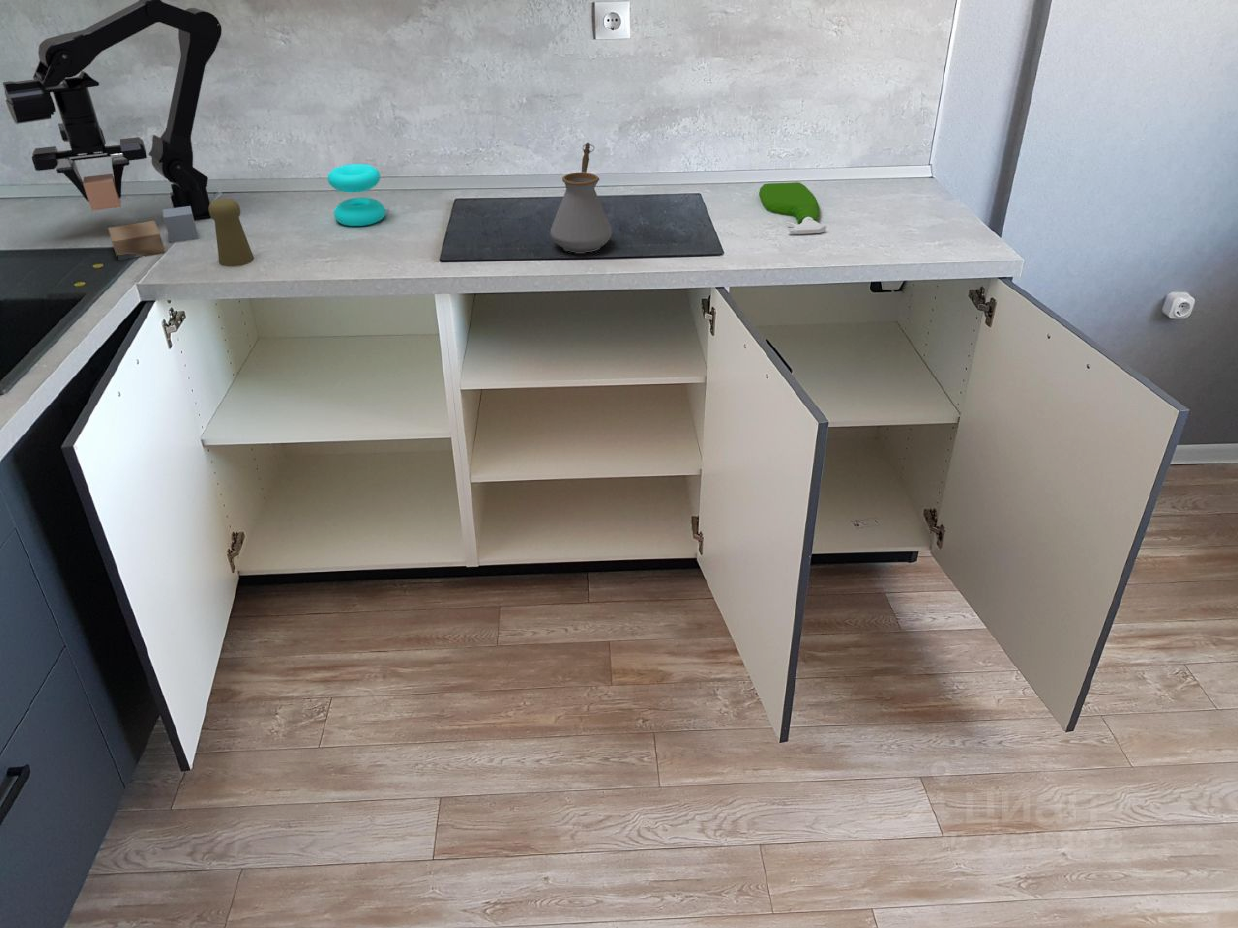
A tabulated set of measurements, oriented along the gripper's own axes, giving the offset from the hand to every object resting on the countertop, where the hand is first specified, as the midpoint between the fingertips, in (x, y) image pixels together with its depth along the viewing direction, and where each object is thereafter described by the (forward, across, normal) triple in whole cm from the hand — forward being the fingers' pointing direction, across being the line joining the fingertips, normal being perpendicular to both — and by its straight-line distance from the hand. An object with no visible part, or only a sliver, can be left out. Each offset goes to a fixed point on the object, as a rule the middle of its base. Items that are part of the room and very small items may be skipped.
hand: (104, 199), depth 180 cm
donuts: (+7, -45, +13) cm, 47 cm away
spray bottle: (+7, -126, +47) cm, 134 cm away
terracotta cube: (+1, 0, 0) cm, 1 cm away
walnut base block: (+7, -4, +12) cm, 14 cm away
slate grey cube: (+7, -12, +8) cm, 16 cm away
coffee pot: (+7, -82, +41) cm, 92 cm away
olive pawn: (+7, -20, +25) cm, 33 cm away
